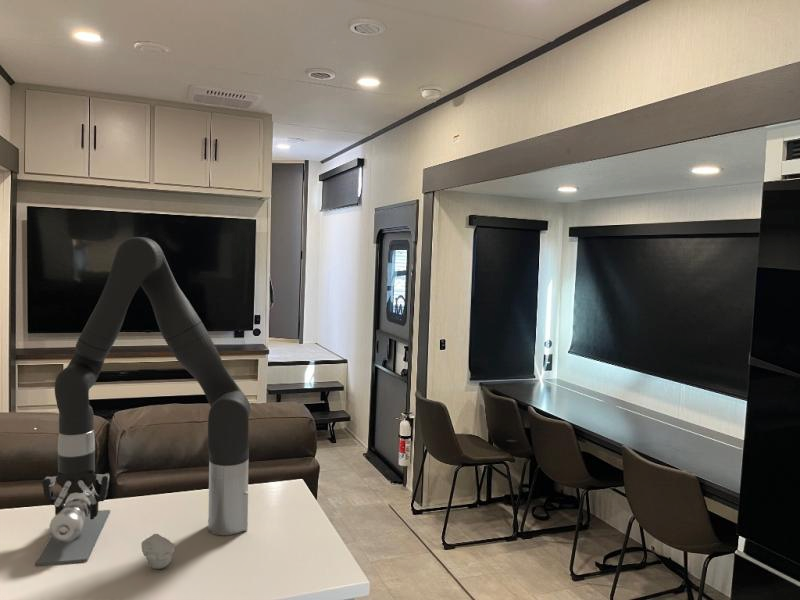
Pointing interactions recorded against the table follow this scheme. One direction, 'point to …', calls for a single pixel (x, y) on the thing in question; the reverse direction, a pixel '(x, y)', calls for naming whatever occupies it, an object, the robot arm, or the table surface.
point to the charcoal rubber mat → (75, 543)
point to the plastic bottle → (70, 518)
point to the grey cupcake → (158, 551)
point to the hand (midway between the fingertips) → (77, 518)
